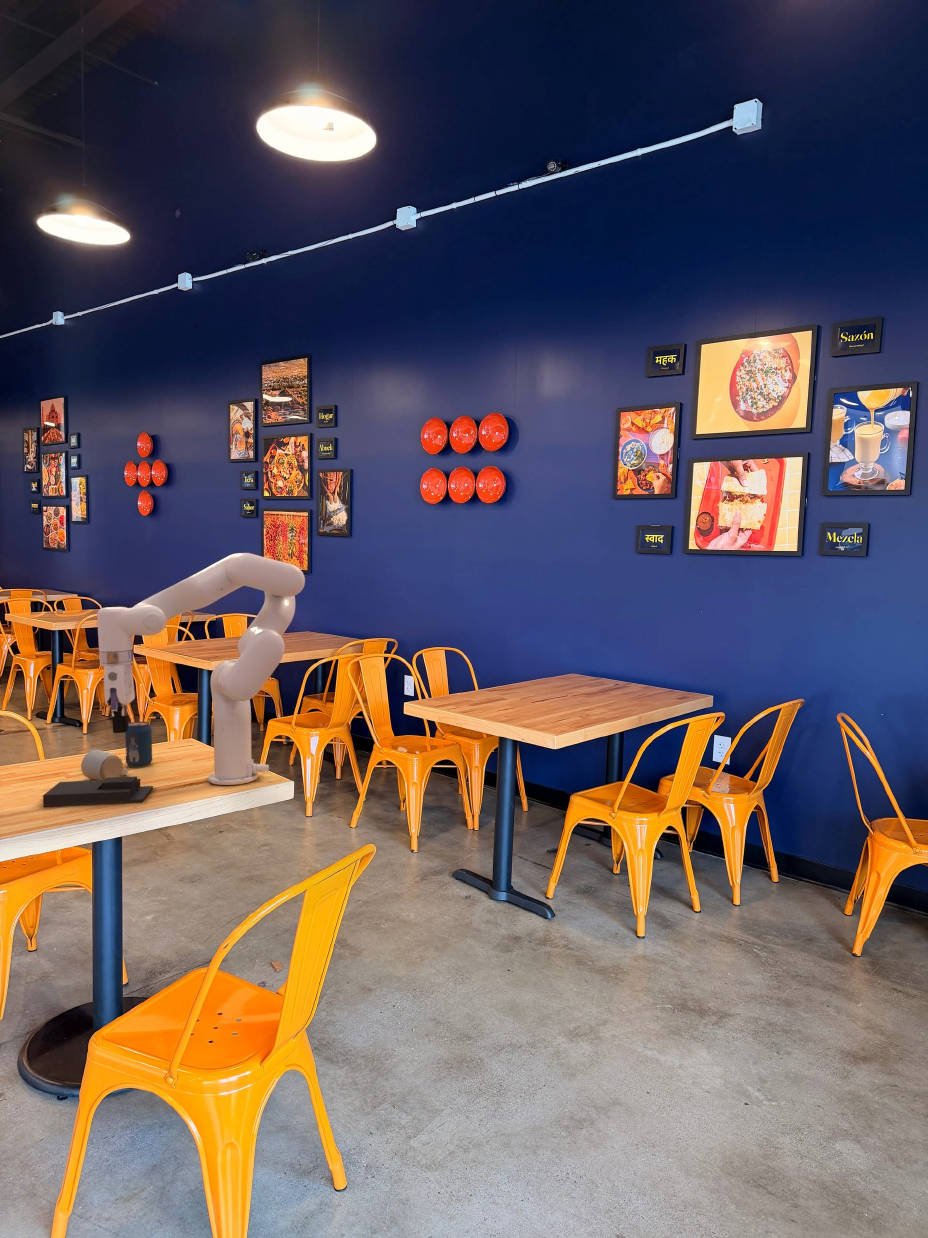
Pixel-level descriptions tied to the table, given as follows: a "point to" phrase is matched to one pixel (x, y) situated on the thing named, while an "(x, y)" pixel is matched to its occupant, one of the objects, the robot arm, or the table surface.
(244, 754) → the robot arm
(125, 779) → the loose pad
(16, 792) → the table surface
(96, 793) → the pad base
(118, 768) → the ceramic mug
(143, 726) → the soda can
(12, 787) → the table surface
